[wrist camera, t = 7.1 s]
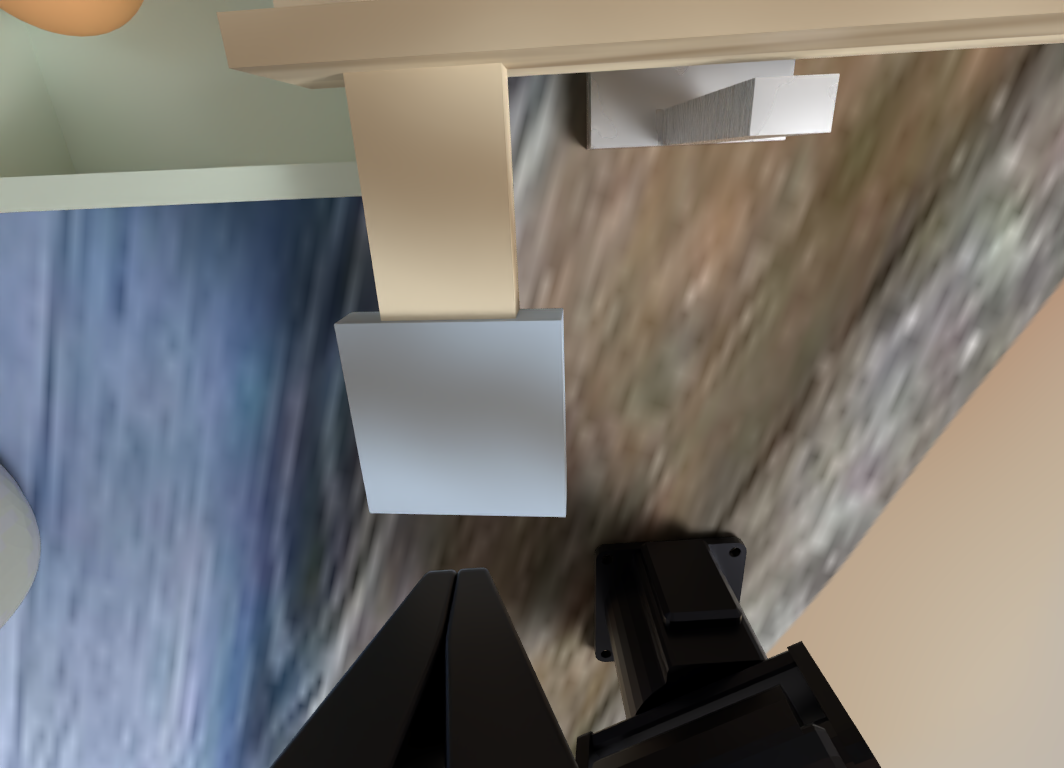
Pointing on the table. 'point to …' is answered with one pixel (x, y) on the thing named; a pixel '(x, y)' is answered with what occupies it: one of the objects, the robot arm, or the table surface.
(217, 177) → the bin
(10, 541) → the teacup
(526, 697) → the robot arm
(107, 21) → the ball
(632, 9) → the lever
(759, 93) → the pivot stand
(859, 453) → the table surface
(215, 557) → the table surface
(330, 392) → the table surface
